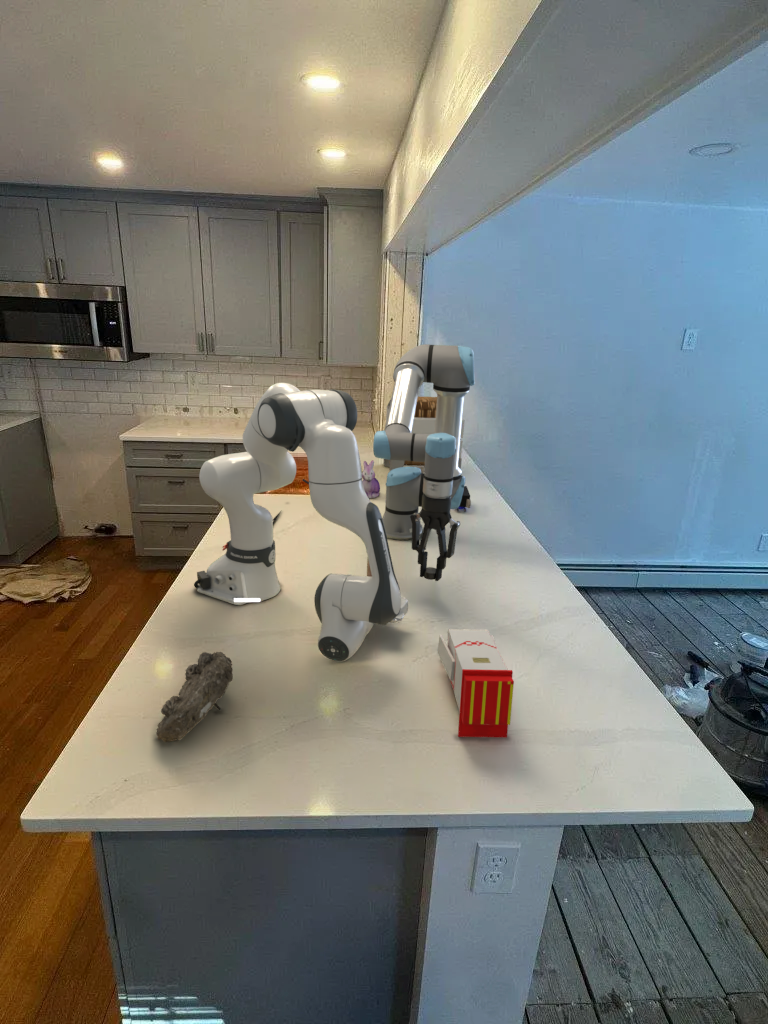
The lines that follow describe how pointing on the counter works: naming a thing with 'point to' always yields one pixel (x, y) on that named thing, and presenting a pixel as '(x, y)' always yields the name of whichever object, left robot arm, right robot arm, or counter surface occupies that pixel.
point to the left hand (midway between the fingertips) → (375, 588)
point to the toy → (478, 682)
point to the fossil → (195, 695)
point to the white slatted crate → (422, 428)
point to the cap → (429, 573)
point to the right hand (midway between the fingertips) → (430, 576)
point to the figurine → (370, 480)
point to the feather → (275, 518)
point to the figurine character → (465, 500)
